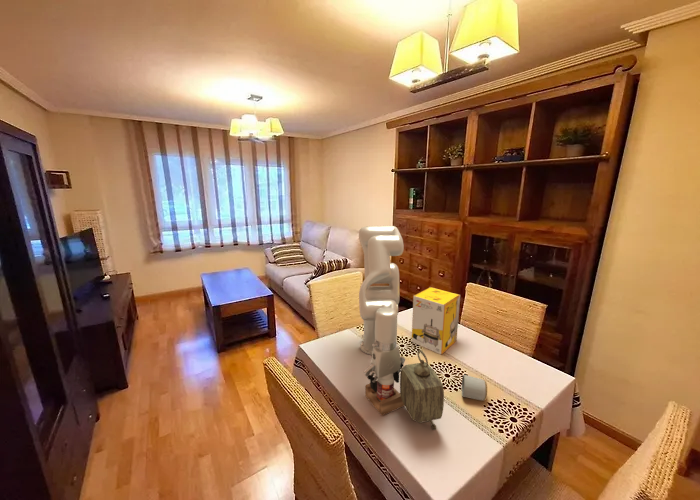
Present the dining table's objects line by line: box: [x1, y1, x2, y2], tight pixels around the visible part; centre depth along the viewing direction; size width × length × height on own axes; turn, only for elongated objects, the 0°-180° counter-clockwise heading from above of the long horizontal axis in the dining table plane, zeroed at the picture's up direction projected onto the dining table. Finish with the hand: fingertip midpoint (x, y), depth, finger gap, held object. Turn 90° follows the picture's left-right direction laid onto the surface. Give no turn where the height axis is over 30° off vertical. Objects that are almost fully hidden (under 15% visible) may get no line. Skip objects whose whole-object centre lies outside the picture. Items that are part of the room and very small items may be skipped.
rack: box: [364, 382, 405, 417], centre depth 103 cm, size 11×10×5 cm
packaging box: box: [411, 286, 461, 355], centre depth 140 cm, size 16×16×25 cm
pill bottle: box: [376, 373, 395, 401], centre depth 103 cm, size 6×6×11 cm
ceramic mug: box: [461, 374, 488, 401], centre depth 106 cm, size 11×8×8 cm
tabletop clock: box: [399, 349, 445, 431], centre depth 93 cm, size 14×9×25 cm, turn 12°
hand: (384, 384), depth 102 cm, fingers open, 9 cm apart
